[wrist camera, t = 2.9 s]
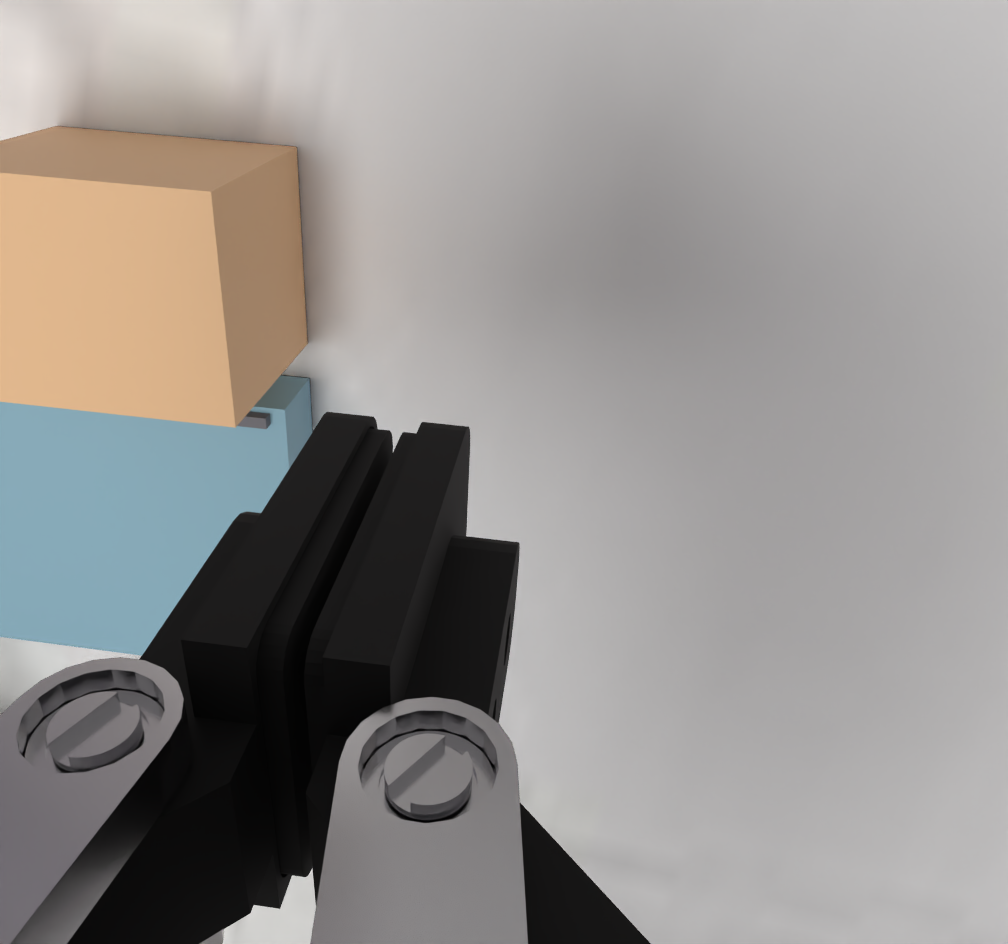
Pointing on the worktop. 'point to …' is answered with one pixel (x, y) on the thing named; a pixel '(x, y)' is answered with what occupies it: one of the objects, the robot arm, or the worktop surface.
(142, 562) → the blue flat block
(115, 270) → the tan block
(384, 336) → the worktop surface
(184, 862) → the robot arm
